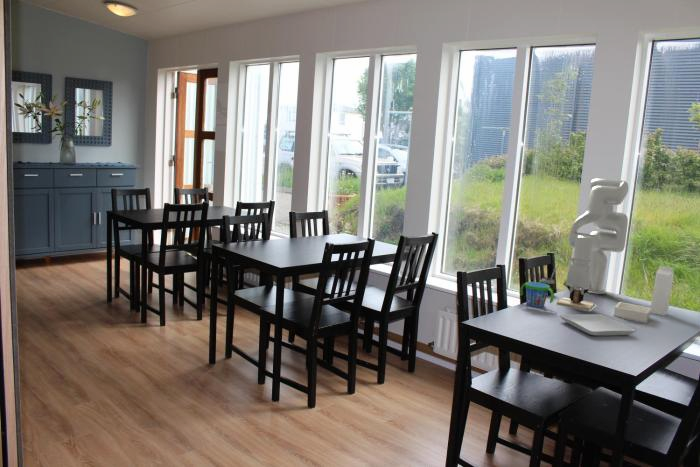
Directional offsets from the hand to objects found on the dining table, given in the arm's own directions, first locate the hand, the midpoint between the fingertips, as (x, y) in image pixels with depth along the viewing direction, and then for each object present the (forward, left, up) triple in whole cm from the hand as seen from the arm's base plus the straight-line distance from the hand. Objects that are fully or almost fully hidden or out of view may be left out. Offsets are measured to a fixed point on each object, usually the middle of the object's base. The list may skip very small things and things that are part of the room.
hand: (575, 300), depth 273 cm
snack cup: (+17, -14, -3) cm, 22 cm away
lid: (0, 0, -2) cm, 2 cm away
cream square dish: (0, +24, -2) cm, 24 cm away
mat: (0, 0, -2) cm, 2 cm away
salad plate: (+33, +15, -3) cm, 36 cm away
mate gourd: (-11, -16, -3) cm, 20 cm away
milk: (-19, +33, -3) cm, 38 cm away
